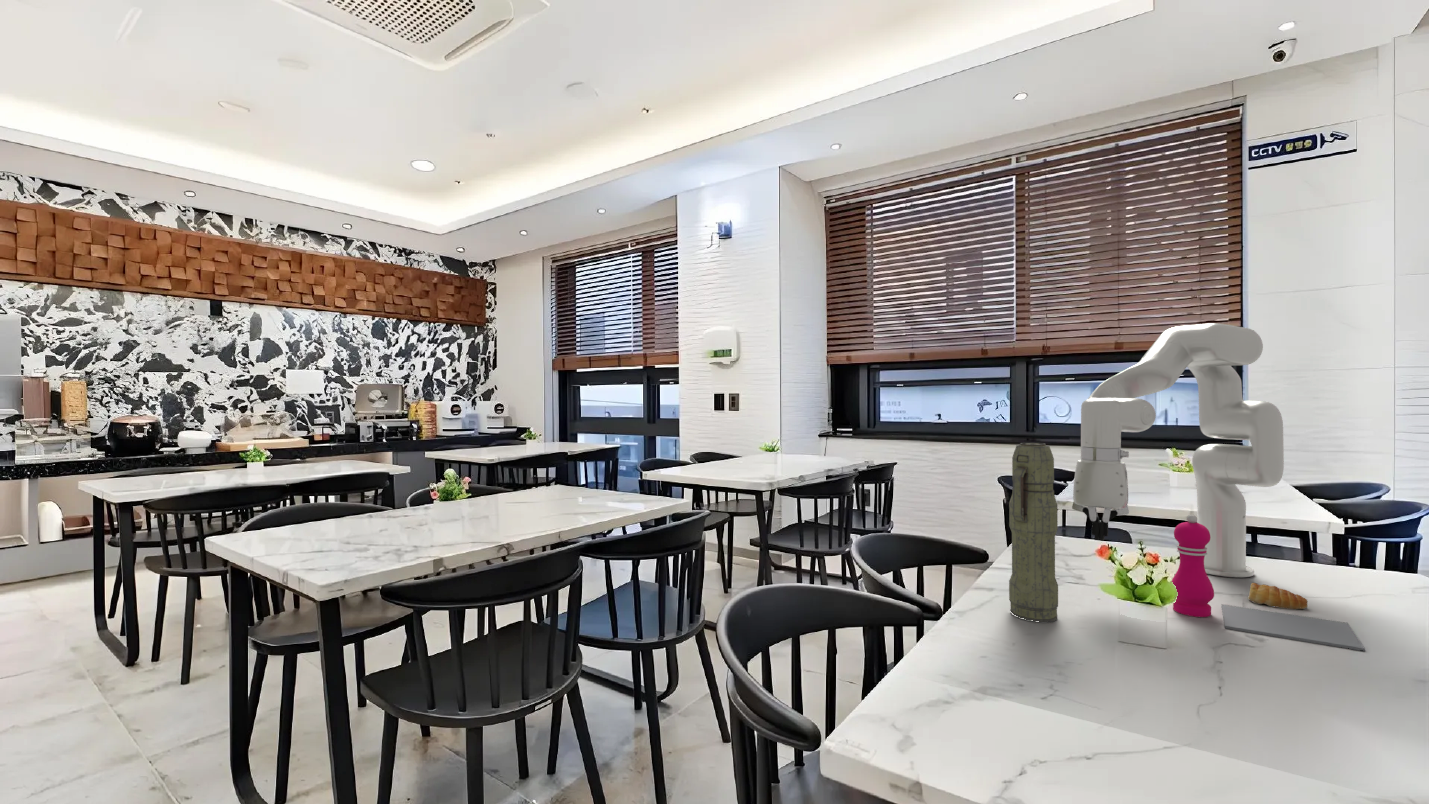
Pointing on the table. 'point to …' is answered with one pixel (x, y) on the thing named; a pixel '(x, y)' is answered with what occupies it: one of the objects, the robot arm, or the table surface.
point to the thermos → (1033, 534)
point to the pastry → (1276, 597)
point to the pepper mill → (1192, 570)
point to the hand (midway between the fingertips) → (1099, 538)
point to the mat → (1291, 627)
